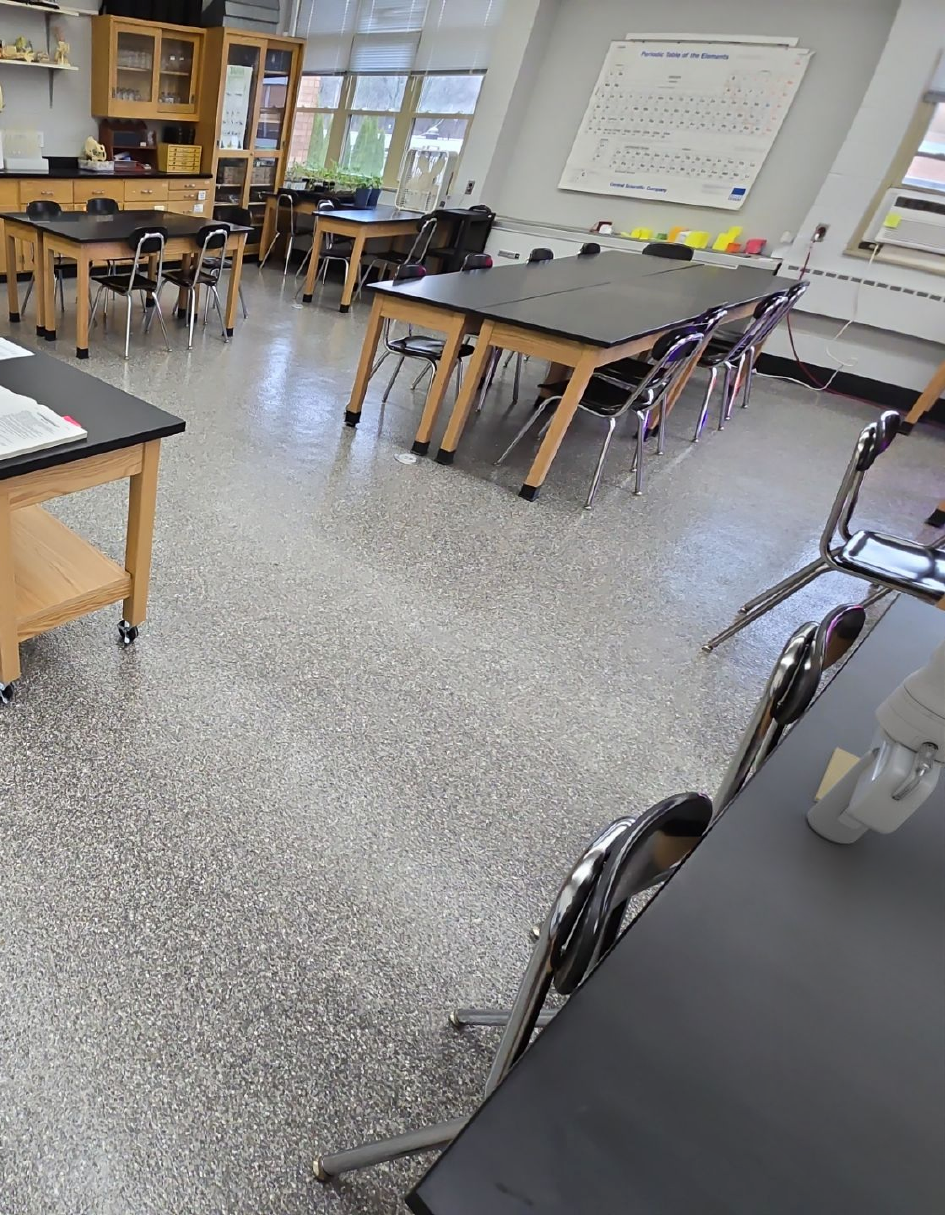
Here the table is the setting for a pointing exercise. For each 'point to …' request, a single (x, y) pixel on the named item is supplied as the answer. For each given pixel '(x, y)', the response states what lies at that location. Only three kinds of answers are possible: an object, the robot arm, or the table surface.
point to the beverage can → (840, 805)
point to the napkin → (835, 771)
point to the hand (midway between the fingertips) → (852, 806)
